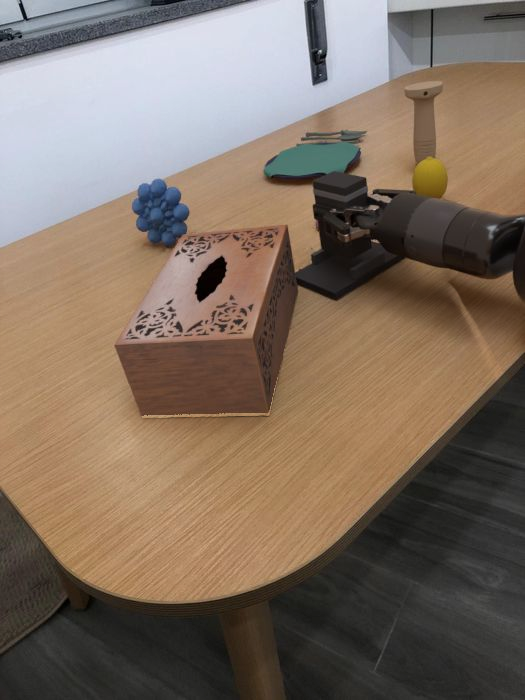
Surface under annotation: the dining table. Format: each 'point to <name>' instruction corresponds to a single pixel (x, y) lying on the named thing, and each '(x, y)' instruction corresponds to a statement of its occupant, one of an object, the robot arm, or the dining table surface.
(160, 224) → the grapes
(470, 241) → the robot arm
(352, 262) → the base pad
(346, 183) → the upright box
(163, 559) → the dining table surface
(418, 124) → the handle
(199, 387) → the tissue box cover
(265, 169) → the cutlery set
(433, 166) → the lemon
